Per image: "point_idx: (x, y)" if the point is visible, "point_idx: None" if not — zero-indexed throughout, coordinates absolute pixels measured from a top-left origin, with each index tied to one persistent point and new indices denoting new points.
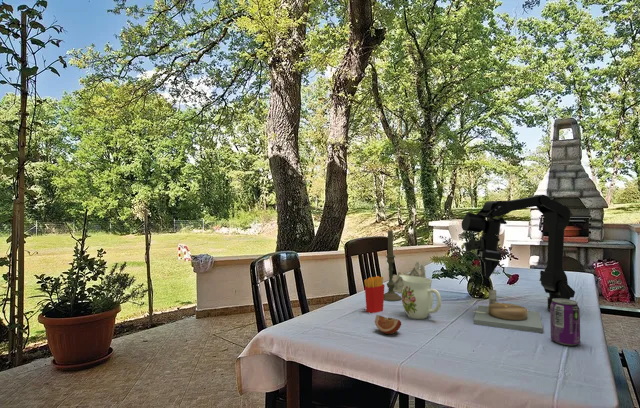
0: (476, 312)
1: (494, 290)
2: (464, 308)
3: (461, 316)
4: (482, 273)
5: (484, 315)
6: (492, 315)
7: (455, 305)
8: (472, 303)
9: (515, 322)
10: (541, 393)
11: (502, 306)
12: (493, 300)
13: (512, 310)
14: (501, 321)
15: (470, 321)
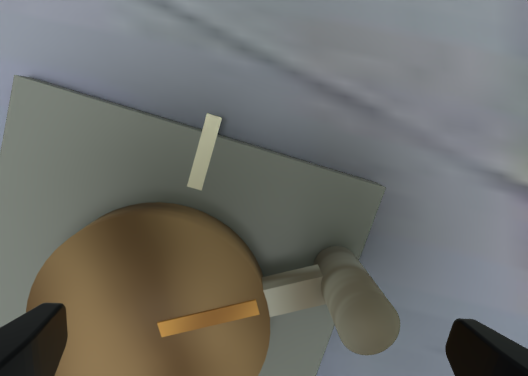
0: (195, 132)
1: (368, 342)
2: (388, 93)
3: (187, 32)
4: (471, 342)
5: (132, 168)
6: (109, 213)
7: (462, 44)
8: (520, 174)
9: (24, 309)
10: None
11: (173, 307)
12: (322, 287)
13: (78, 343)
14: (22, 238)
15: (84, 69)
